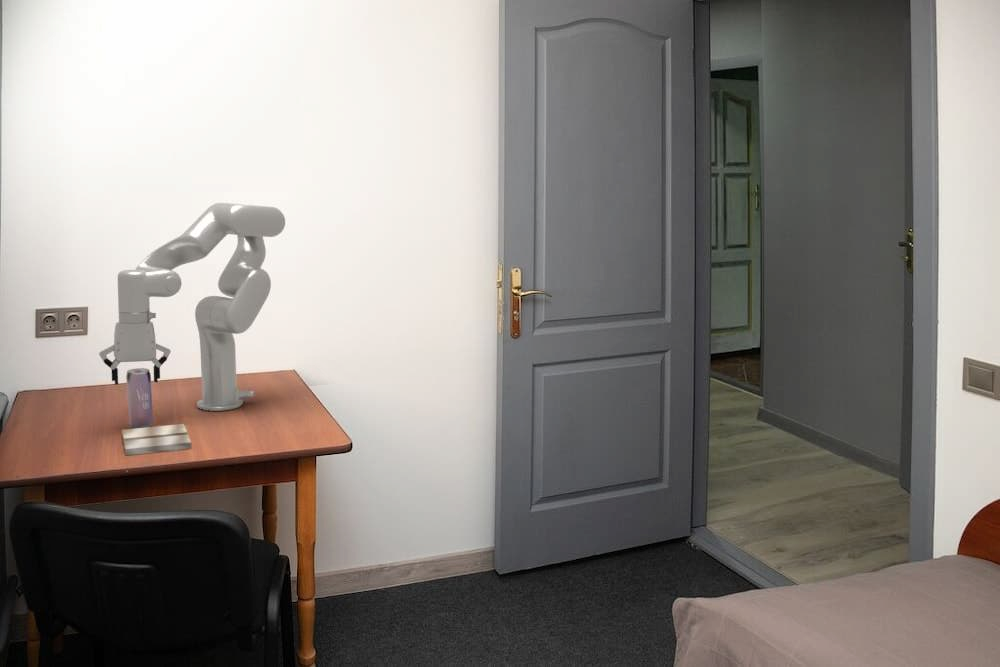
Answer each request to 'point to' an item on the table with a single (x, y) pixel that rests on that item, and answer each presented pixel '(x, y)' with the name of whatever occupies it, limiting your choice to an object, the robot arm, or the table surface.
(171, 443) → the floorboard
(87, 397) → the table surface
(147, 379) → the beverage can
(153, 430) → the plank
